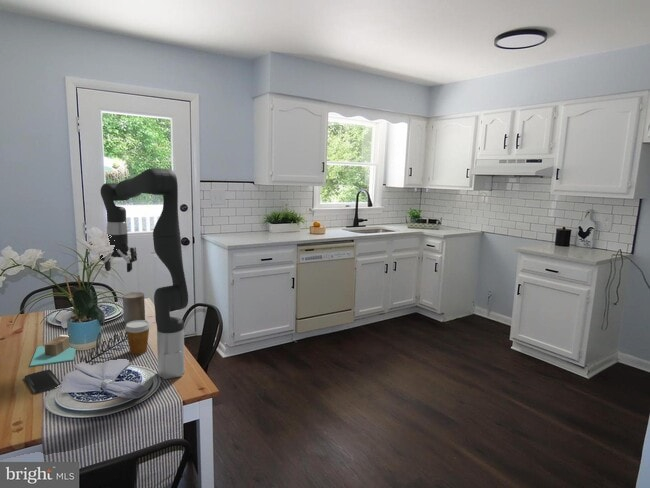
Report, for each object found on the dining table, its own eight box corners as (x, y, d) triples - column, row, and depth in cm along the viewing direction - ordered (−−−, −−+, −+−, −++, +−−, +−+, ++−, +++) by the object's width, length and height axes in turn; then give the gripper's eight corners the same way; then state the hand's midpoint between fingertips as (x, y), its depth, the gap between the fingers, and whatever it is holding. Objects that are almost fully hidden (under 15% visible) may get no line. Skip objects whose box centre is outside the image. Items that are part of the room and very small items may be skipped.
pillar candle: (149, 319, 206) (148, 290, 204) (136, 326, 197) (135, 295, 195) (132, 317, 208) (131, 288, 206) (119, 323, 199) (117, 293, 197)
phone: (49, 368, 151) (61, 384, 141) (49, 371, 151) (61, 387, 141) (23, 375, 146) (34, 392, 135) (23, 378, 146) (34, 395, 136)
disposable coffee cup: (142, 344, 177) (141, 318, 175) (155, 350, 172) (155, 323, 170) (121, 351, 169) (119, 324, 167) (134, 358, 164) (133, 329, 162)
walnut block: (56, 355, 162) (72, 345, 172) (55, 345, 161) (71, 335, 171) (45, 355, 162) (61, 345, 172) (44, 344, 161) (61, 334, 171)
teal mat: (73, 360, 160) (73, 359, 160) (29, 366, 154) (29, 365, 154) (77, 342, 176) (77, 341, 176) (37, 347, 169) (37, 346, 169)
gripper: (94, 233, 165) (96, 272, 167) (130, 234, 165) (131, 274, 167) (104, 230, 172) (106, 268, 175) (138, 232, 172) (140, 269, 175)
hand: (118, 271), depth 171 cm, fingers open, 8 cm apart
